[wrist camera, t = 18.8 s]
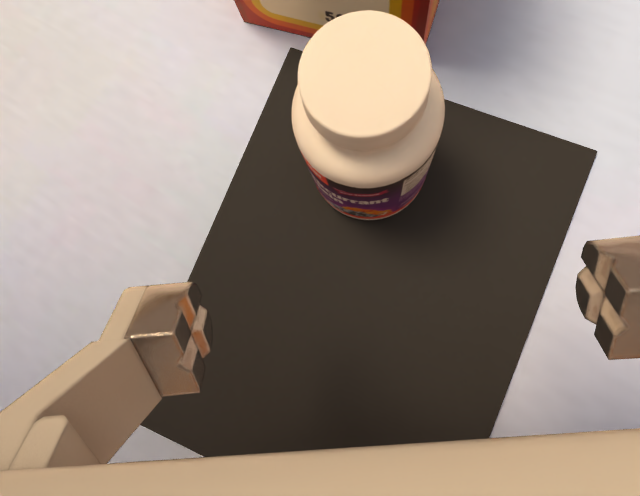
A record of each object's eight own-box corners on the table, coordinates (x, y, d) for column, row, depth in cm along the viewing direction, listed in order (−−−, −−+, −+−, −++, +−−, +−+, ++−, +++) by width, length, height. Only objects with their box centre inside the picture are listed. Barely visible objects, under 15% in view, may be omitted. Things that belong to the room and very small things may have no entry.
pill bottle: (294, 189, 25) (239, 108, 15) (349, 96, 25) (330, -42, 15) (391, 243, 24) (399, 193, 14) (447, 146, 24) (492, 32, 14)
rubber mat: (437, 569, 22) (437, 573, 22) (129, 417, 24) (126, 418, 24) (595, 153, 24) (597, 150, 23) (291, 49, 26) (290, 46, 26)
